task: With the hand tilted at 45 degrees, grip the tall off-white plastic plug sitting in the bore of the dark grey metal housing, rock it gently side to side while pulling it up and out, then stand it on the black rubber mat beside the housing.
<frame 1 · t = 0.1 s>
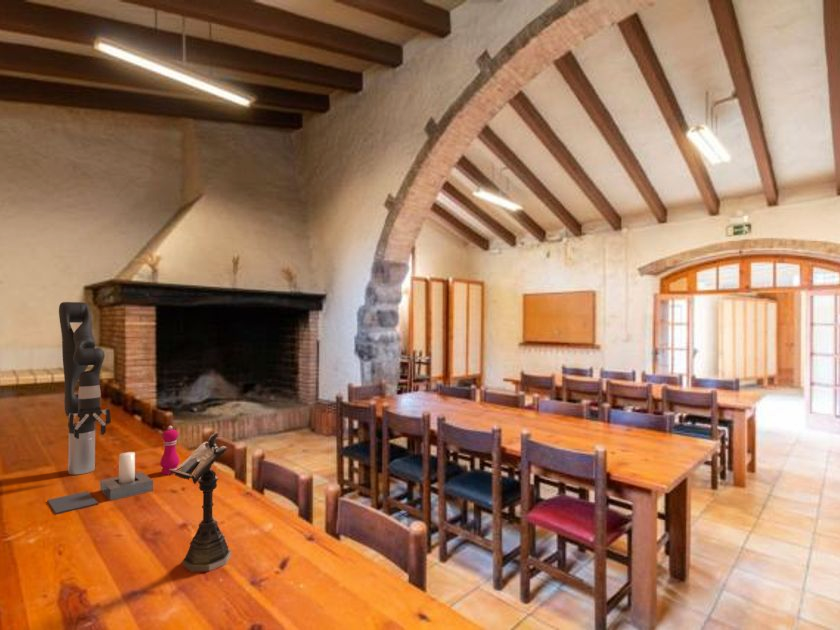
hand: (90, 436, 195), 17 cm above the table, tool pointing down, fingers open, 8 cm apart
housing: (126, 490, 182), on the table
ornate lectern: (200, 566, 128), on the table
mat: (72, 502, 170), on the table
pepper mill: (169, 473, 204), on the table
plug: (126, 472, 182), in the housing
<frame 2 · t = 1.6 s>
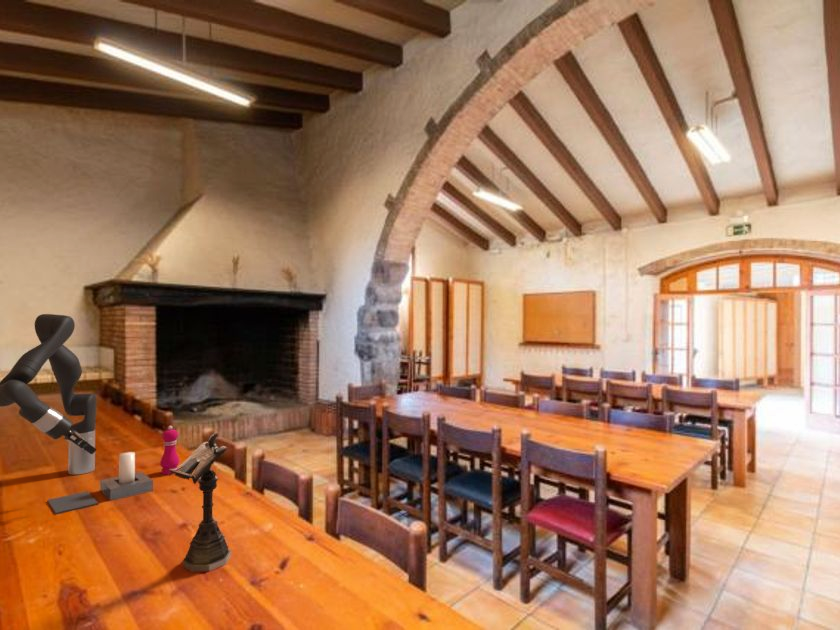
hand: (91, 449, 174), 18 cm above the table, tool tilted 45°, fingers open, 8 cm apart
nothing on the table moved.
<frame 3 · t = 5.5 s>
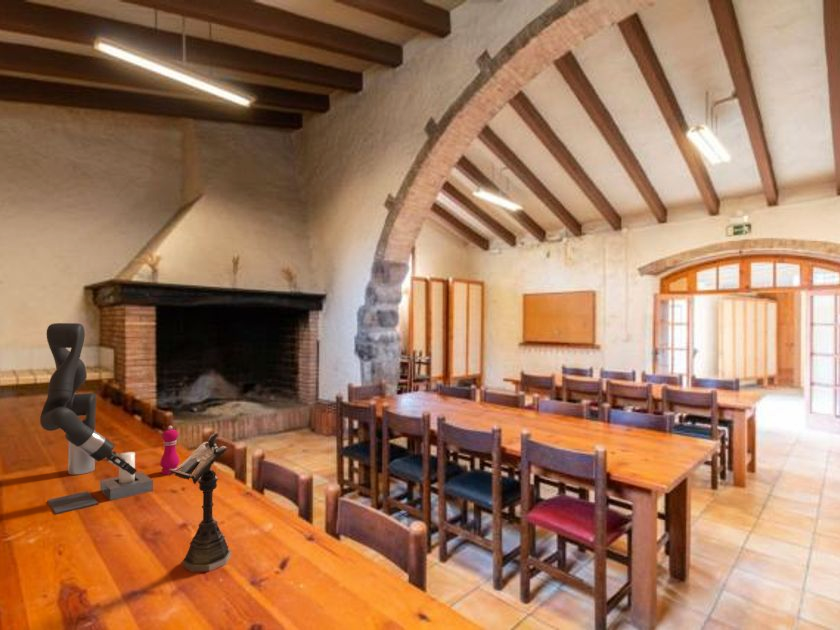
hand: (132, 470, 184), 7 cm above the table, tool tilted 45°, fingers closed on plug, 5 cm apart
plug: (126, 472, 182), in the housing, touching gripper
everything else where it was.
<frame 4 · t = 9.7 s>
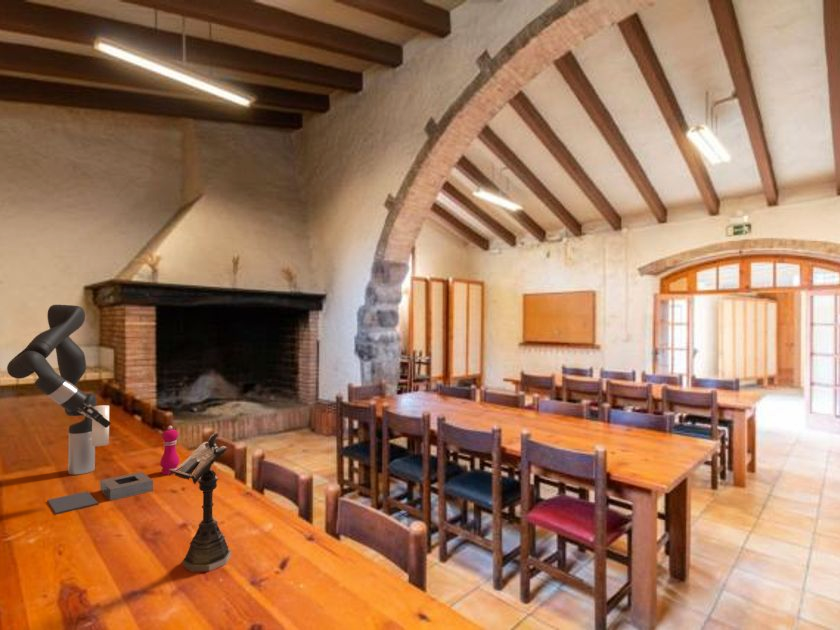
hand: (106, 424, 177), 27 cm above the table, tool tilted 45°, fingers closed on plug, 5 cm apart
plug: (100, 425, 176), point 26 cm above the table, touching gripper
everything else where it was.
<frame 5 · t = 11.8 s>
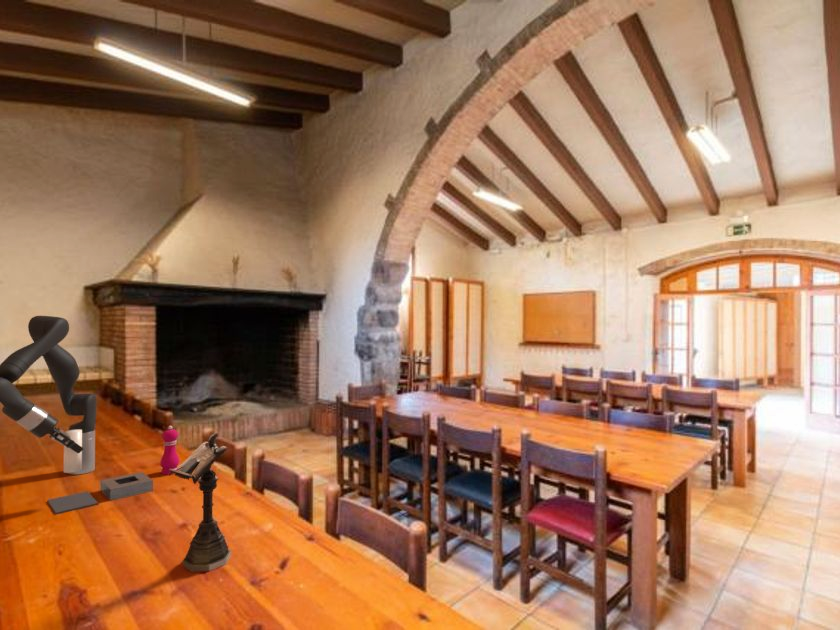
hand: (79, 449, 172), 19 cm above the table, tool tilted 45°, fingers closed on plug, 5 cm apart
plug: (72, 450, 170), point 19 cm above the table, touching gripper
everything else where it was.
when the fingers open (9 cm above the table, at t = 14.0 s): plug drops 1 cm, resting on mat.
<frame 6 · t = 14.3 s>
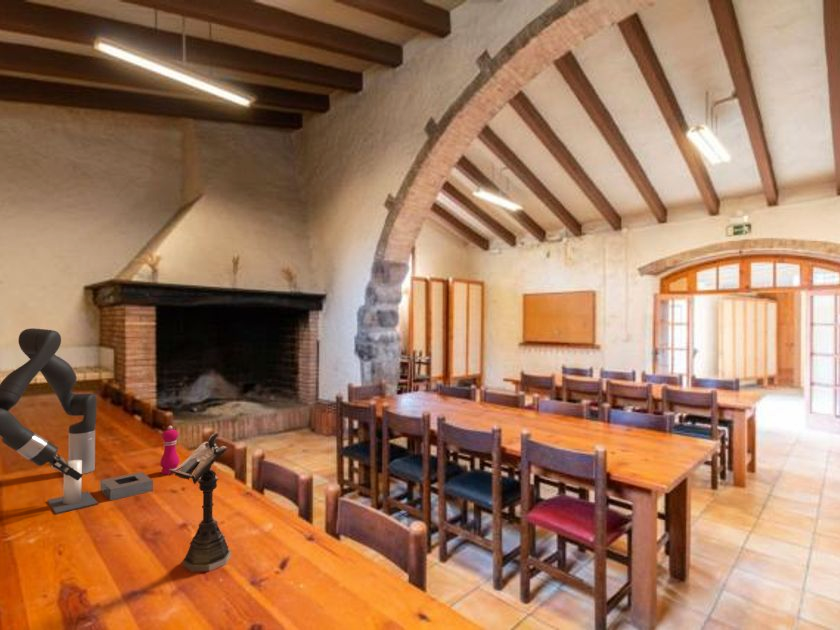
hand: (77, 475, 171), 10 cm above the table, tool tilted 45°, fingers open, 8 cm apart
plug: (72, 481, 170), on the mat, point 8 cm above the table
everything else where it was.
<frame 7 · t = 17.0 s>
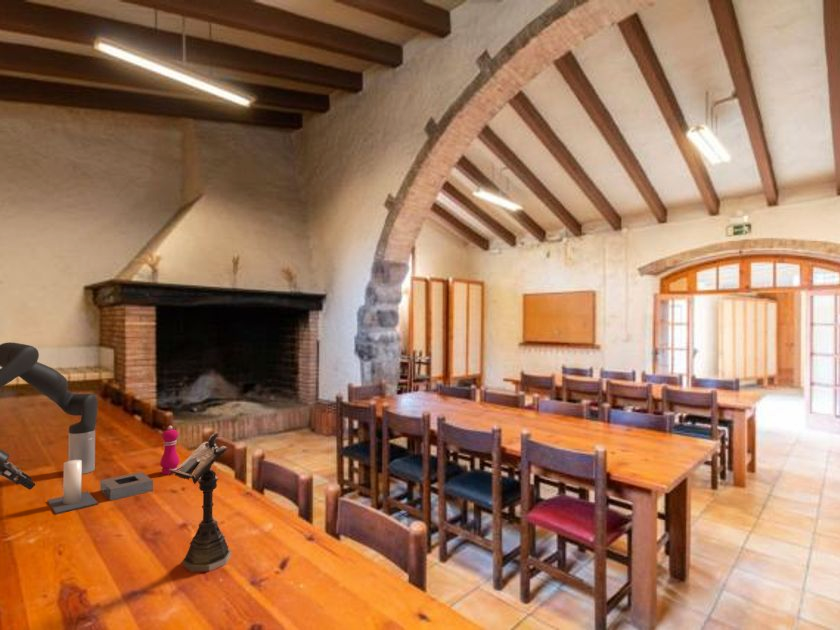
hand: (31, 483, 162), 10 cm above the table, tool tilted 45°, fingers open, 8 cm apart
nothing on the table moved.
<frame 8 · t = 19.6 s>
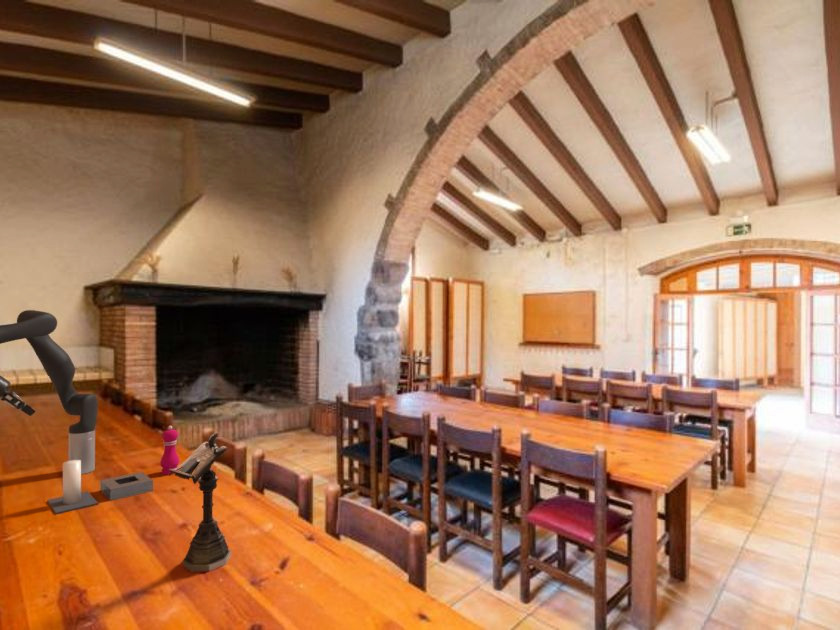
hand: (31, 412, 169), 33 cm above the table, tool tilted 45°, fingers open, 8 cm apart
nothing on the table moved.
at the end: plug inside the target area (0.1 cm from its centre), point 7.6 cm above the table; plug tilted 1°; plug touching mat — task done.
